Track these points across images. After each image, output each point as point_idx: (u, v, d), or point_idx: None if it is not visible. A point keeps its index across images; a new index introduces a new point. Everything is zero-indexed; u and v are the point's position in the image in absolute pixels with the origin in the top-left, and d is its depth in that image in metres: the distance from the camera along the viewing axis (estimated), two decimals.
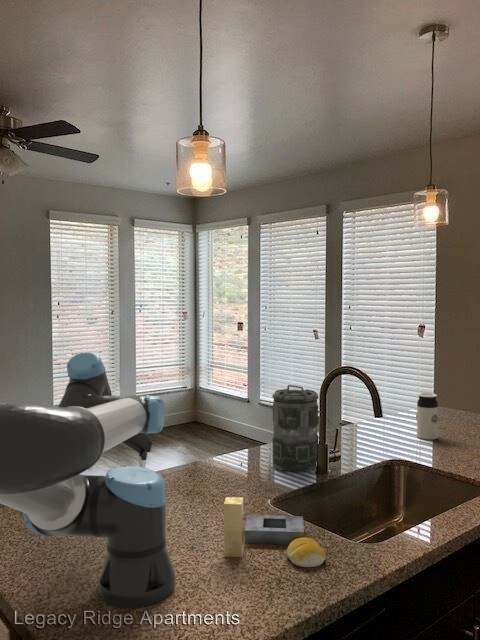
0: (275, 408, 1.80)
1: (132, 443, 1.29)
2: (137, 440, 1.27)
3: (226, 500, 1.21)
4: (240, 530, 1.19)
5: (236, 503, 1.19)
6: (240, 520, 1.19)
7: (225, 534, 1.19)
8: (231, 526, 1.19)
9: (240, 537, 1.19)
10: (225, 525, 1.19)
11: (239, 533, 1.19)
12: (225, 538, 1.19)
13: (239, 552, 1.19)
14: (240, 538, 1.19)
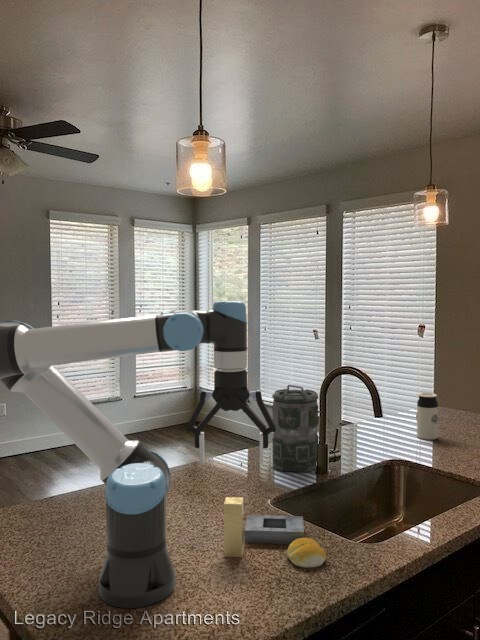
0: (275, 408, 1.80)
1: (257, 418, 1.19)
2: (264, 412, 1.19)
3: (226, 500, 1.21)
4: (240, 530, 1.19)
5: (236, 503, 1.19)
6: (240, 521, 1.19)
7: (225, 534, 1.19)
8: (231, 526, 1.19)
9: (240, 537, 1.19)
10: (225, 525, 1.19)
11: (239, 533, 1.19)
12: (225, 538, 1.19)
13: (239, 552, 1.19)
14: (240, 538, 1.19)
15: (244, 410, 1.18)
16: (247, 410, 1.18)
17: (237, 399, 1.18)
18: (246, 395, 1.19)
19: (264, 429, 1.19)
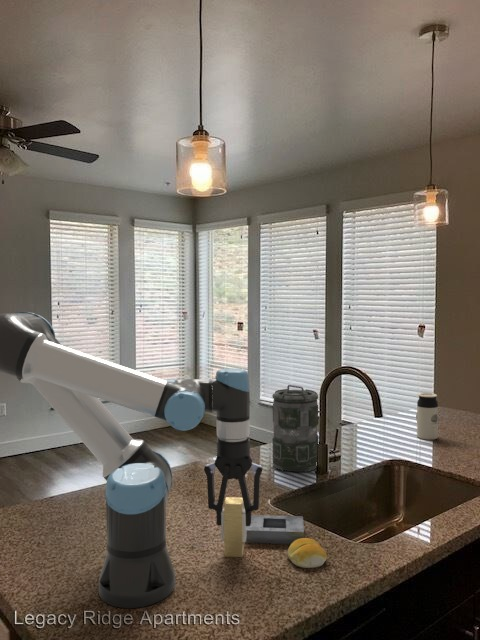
0: (275, 408, 1.80)
1: (247, 495, 1.19)
2: (255, 489, 1.19)
3: (226, 500, 1.21)
4: (240, 530, 1.19)
5: (236, 503, 1.19)
6: (240, 520, 1.19)
7: (225, 534, 1.19)
8: (231, 526, 1.19)
9: (240, 537, 1.19)
10: (225, 525, 1.19)
11: (239, 533, 1.19)
12: (225, 538, 1.19)
13: (239, 552, 1.19)
14: (240, 538, 1.19)
15: (240, 482, 1.19)
16: (242, 483, 1.19)
17: (239, 469, 1.18)
18: (248, 464, 1.19)
19: (248, 507, 1.19)
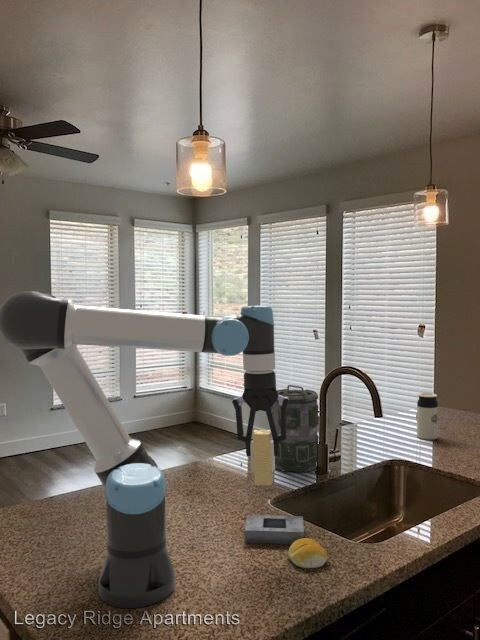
0: (275, 408, 1.80)
1: (274, 425, 1.24)
2: (282, 419, 1.23)
3: (254, 432, 1.25)
4: (269, 459, 1.23)
5: (264, 433, 1.24)
6: (268, 450, 1.23)
7: (254, 464, 1.24)
8: (260, 456, 1.24)
9: (269, 466, 1.23)
10: (254, 455, 1.24)
11: (268, 462, 1.23)
12: (254, 467, 1.24)
13: (269, 480, 1.24)
14: (269, 467, 1.23)
15: (267, 413, 1.23)
16: (270, 414, 1.23)
17: (266, 400, 1.23)
18: (275, 396, 1.23)
19: (276, 437, 1.24)
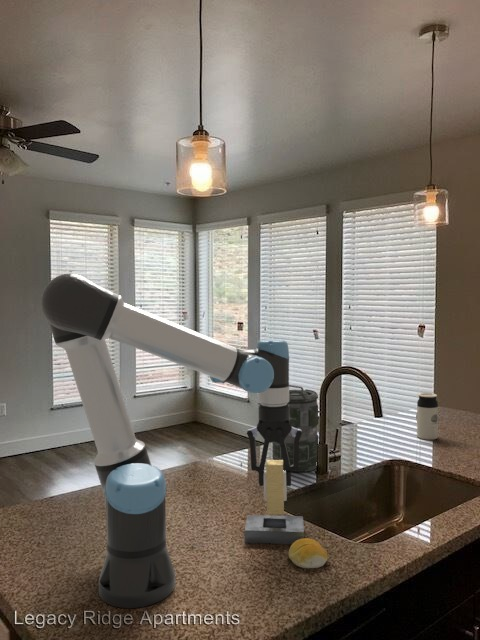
0: None
1: (287, 456, 1.28)
2: (295, 451, 1.27)
3: (267, 462, 1.29)
4: (281, 489, 1.27)
5: (277, 464, 1.27)
6: (281, 480, 1.27)
7: (267, 493, 1.28)
8: (273, 486, 1.27)
9: (281, 496, 1.27)
10: (267, 485, 1.27)
11: (280, 492, 1.27)
12: (267, 497, 1.28)
13: (281, 510, 1.27)
14: (281, 497, 1.27)
15: (281, 444, 1.27)
16: (283, 445, 1.27)
17: (280, 432, 1.27)
18: (289, 428, 1.27)
19: (288, 468, 1.28)
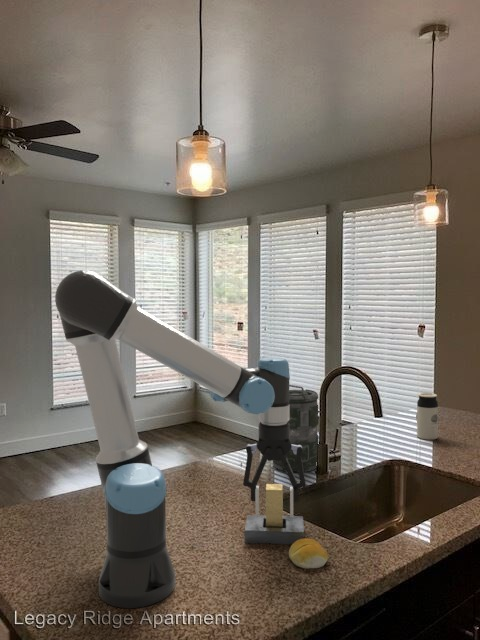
0: None
1: (292, 473, 1.28)
2: (299, 468, 1.27)
3: (267, 486, 1.29)
4: (281, 514, 1.27)
5: (277, 489, 1.28)
6: (280, 505, 1.27)
7: (267, 518, 1.28)
8: (272, 511, 1.27)
9: (281, 521, 1.27)
10: (267, 509, 1.28)
11: (280, 517, 1.27)
12: (267, 522, 1.28)
13: None
14: (281, 521, 1.27)
15: (283, 462, 1.27)
16: (285, 463, 1.27)
17: (280, 451, 1.27)
18: (288, 446, 1.27)
19: (295, 484, 1.28)
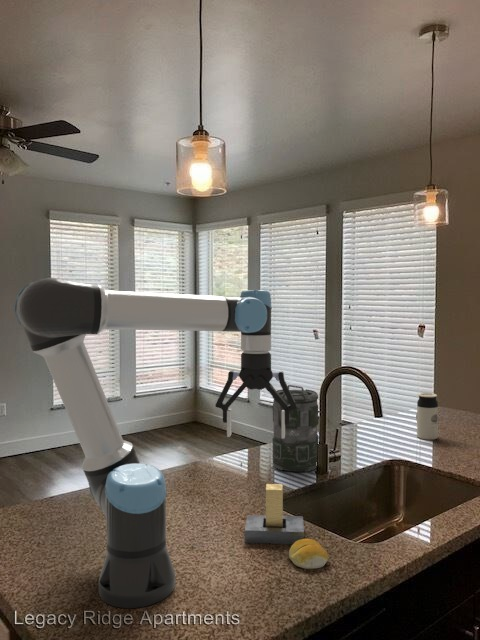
0: (275, 408, 1.80)
1: (279, 397, 1.31)
2: (286, 391, 1.30)
3: (267, 486, 1.29)
4: (281, 514, 1.27)
5: (277, 489, 1.28)
6: (280, 505, 1.27)
7: (267, 518, 1.28)
8: (272, 511, 1.27)
9: (281, 521, 1.27)
10: (267, 509, 1.28)
11: (280, 517, 1.27)
12: (267, 522, 1.28)
13: None
14: (281, 522, 1.27)
15: (268, 389, 1.30)
16: (270, 389, 1.30)
17: (261, 379, 1.30)
18: (270, 375, 1.31)
19: (286, 407, 1.31)
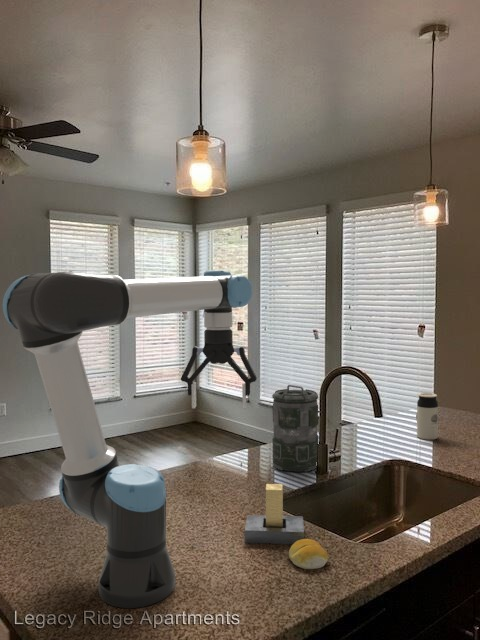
0: (275, 408, 1.80)
1: (240, 370, 1.41)
2: (246, 365, 1.40)
3: (267, 486, 1.29)
4: (281, 514, 1.27)
5: (277, 489, 1.28)
6: (280, 505, 1.27)
7: (267, 518, 1.28)
8: (272, 511, 1.27)
9: (281, 521, 1.27)
10: (267, 509, 1.28)
11: (280, 517, 1.27)
12: (267, 522, 1.28)
13: None
14: (281, 522, 1.27)
15: (229, 363, 1.40)
16: (232, 363, 1.40)
17: (223, 353, 1.40)
18: (231, 350, 1.40)
19: (246, 379, 1.40)
